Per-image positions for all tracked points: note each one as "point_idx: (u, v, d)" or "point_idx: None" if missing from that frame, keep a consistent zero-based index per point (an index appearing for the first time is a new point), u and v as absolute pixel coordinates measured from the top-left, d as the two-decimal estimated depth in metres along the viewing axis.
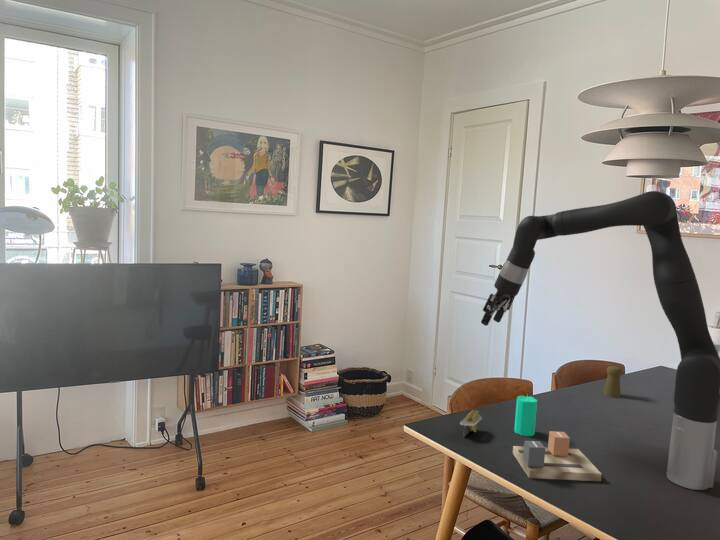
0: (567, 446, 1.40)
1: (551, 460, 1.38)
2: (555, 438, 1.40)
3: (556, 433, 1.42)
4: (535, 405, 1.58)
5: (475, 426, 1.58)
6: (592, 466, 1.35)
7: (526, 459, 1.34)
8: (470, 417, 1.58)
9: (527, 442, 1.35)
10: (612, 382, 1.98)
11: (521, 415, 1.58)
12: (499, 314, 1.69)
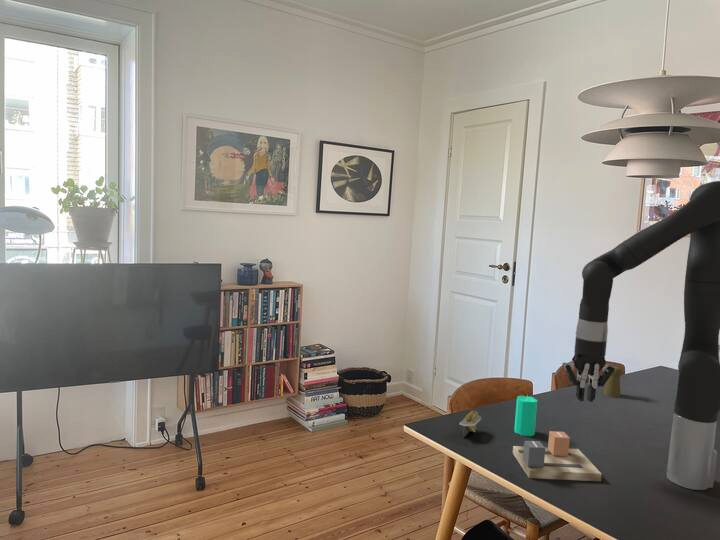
0: (567, 446, 1.40)
1: (551, 460, 1.38)
2: (555, 438, 1.40)
3: (556, 433, 1.42)
4: (535, 405, 1.58)
5: (475, 426, 1.57)
6: (592, 466, 1.35)
7: (526, 459, 1.34)
8: (470, 417, 1.58)
9: (527, 442, 1.35)
10: (612, 382, 1.98)
11: (521, 415, 1.58)
12: (589, 391, 1.40)
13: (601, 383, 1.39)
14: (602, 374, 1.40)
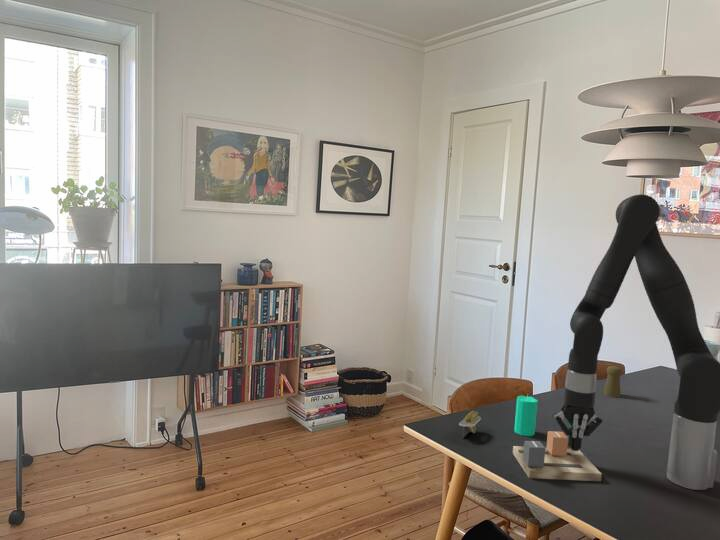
0: (565, 446, 1.40)
1: (551, 460, 1.38)
2: (553, 438, 1.40)
3: (554, 433, 1.42)
4: (535, 405, 1.58)
5: (474, 427, 1.57)
6: (592, 466, 1.35)
7: (526, 459, 1.34)
8: (469, 418, 1.58)
9: (527, 442, 1.35)
10: (612, 382, 1.98)
11: (521, 415, 1.58)
12: None
13: (587, 433, 1.40)
14: (589, 424, 1.42)
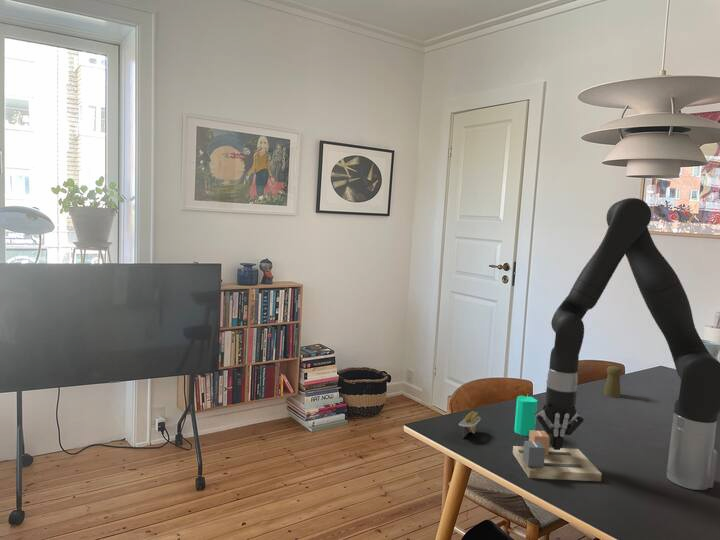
0: (547, 445, 1.40)
1: (551, 460, 1.38)
2: (535, 437, 1.40)
3: (536, 432, 1.42)
4: (535, 405, 1.58)
5: (474, 427, 1.57)
6: (592, 466, 1.35)
7: (526, 459, 1.34)
8: (469, 418, 1.57)
9: (527, 442, 1.35)
10: (612, 382, 1.98)
11: (521, 415, 1.58)
12: None
13: (568, 432, 1.40)
14: (571, 423, 1.42)
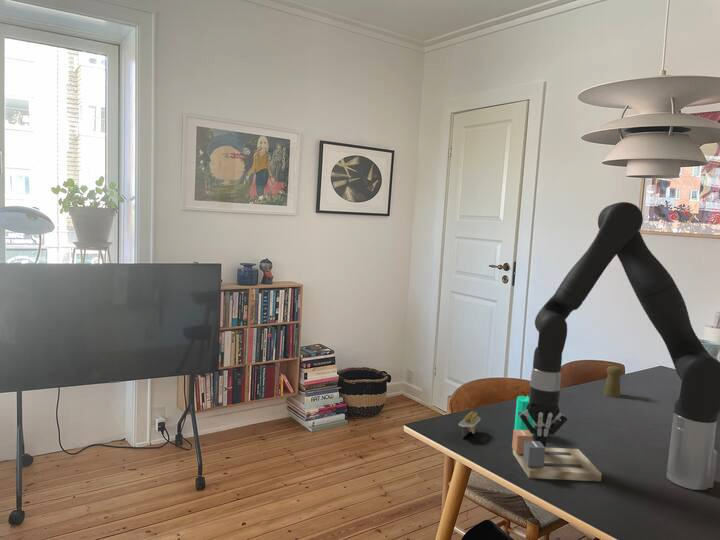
0: None
1: (551, 460, 1.38)
2: (518, 436, 1.39)
3: (520, 431, 1.42)
4: None
5: (474, 427, 1.57)
6: (592, 466, 1.35)
7: (526, 459, 1.34)
8: (469, 418, 1.57)
9: (527, 442, 1.35)
10: (612, 382, 1.98)
11: None
12: None
13: (552, 431, 1.40)
14: (554, 422, 1.42)
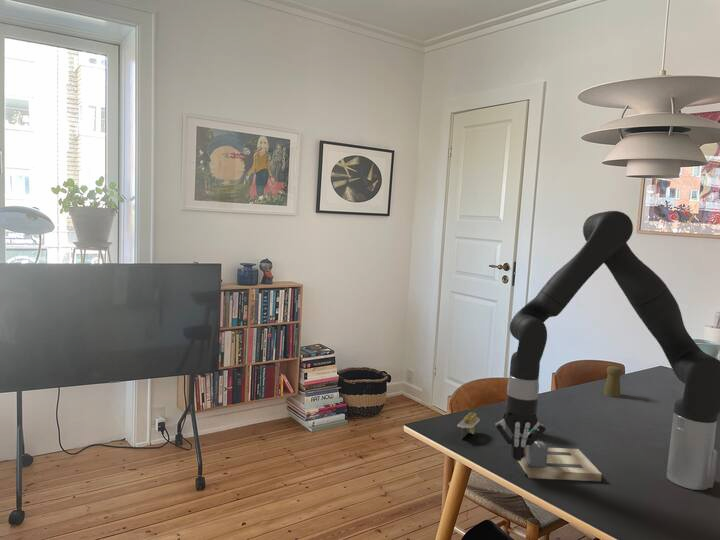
0: None
1: (551, 460, 1.38)
2: None
3: None
4: None
5: (473, 428, 1.56)
6: (592, 466, 1.35)
7: (529, 459, 1.34)
8: (468, 419, 1.57)
9: None
10: (612, 382, 1.98)
11: None
12: None
13: (529, 442, 1.33)
14: (532, 432, 1.34)
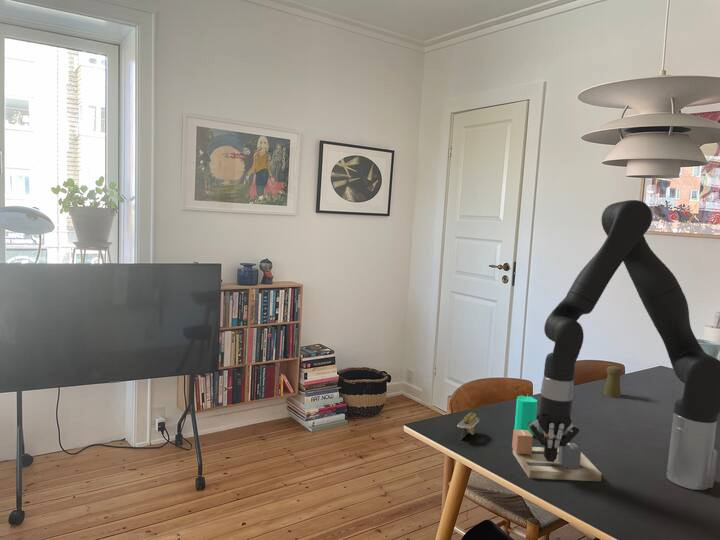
0: (530, 444, 1.40)
1: None
2: (518, 436, 1.39)
3: (520, 431, 1.42)
4: (535, 405, 1.58)
5: (473, 429, 1.56)
6: (592, 466, 1.35)
7: (562, 461, 1.34)
8: (467, 419, 1.56)
9: None
10: (612, 382, 1.98)
11: (521, 415, 1.58)
12: None
13: (563, 443, 1.33)
14: (566, 433, 1.35)
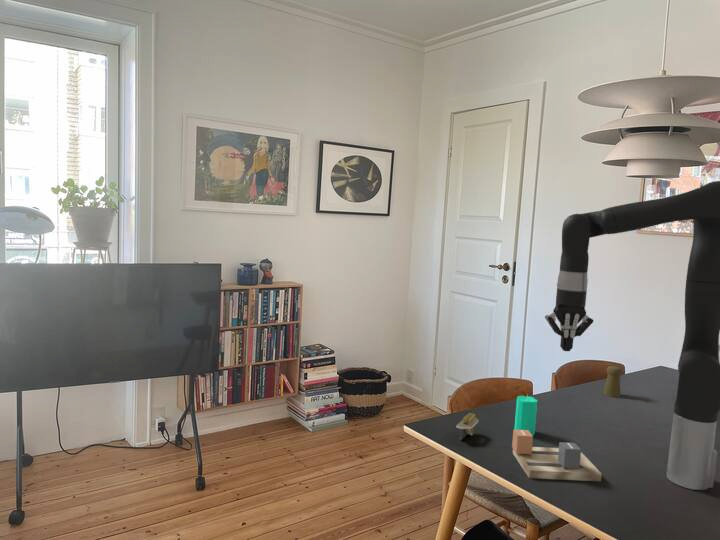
0: (530, 444, 1.40)
1: (551, 460, 1.38)
2: (518, 436, 1.39)
3: (520, 431, 1.42)
4: (535, 405, 1.58)
5: (472, 429, 1.55)
6: (592, 466, 1.35)
7: (562, 461, 1.34)
8: (467, 420, 1.56)
9: (562, 444, 1.35)
10: (612, 382, 1.98)
11: (521, 415, 1.58)
12: None
13: (578, 333, 1.43)
14: (580, 325, 1.44)
